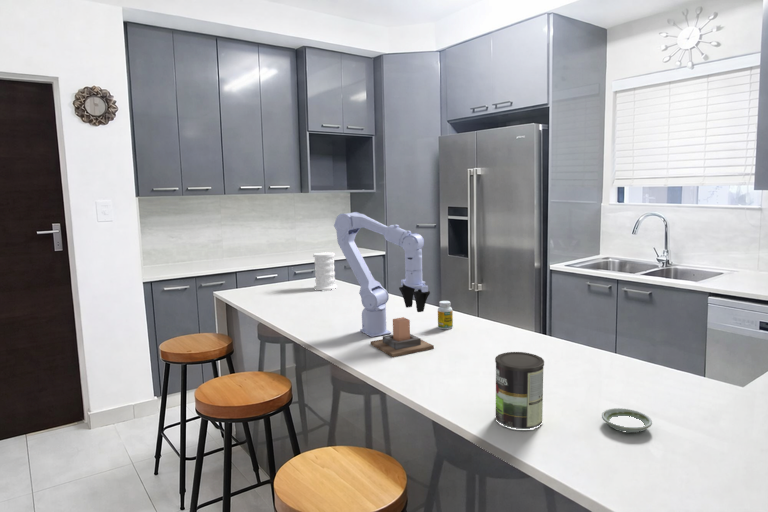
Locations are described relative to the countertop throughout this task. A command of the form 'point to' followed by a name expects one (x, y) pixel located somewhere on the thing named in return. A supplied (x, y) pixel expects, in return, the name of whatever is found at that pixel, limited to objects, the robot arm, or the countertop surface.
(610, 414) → the grey-green ring
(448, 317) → the supplement bottle
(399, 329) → the peg
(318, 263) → the decorative container
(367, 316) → the robot arm
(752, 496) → the countertop surface
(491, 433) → the countertop surface
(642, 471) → the countertop surface
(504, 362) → the coffee can
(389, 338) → the peg holder
